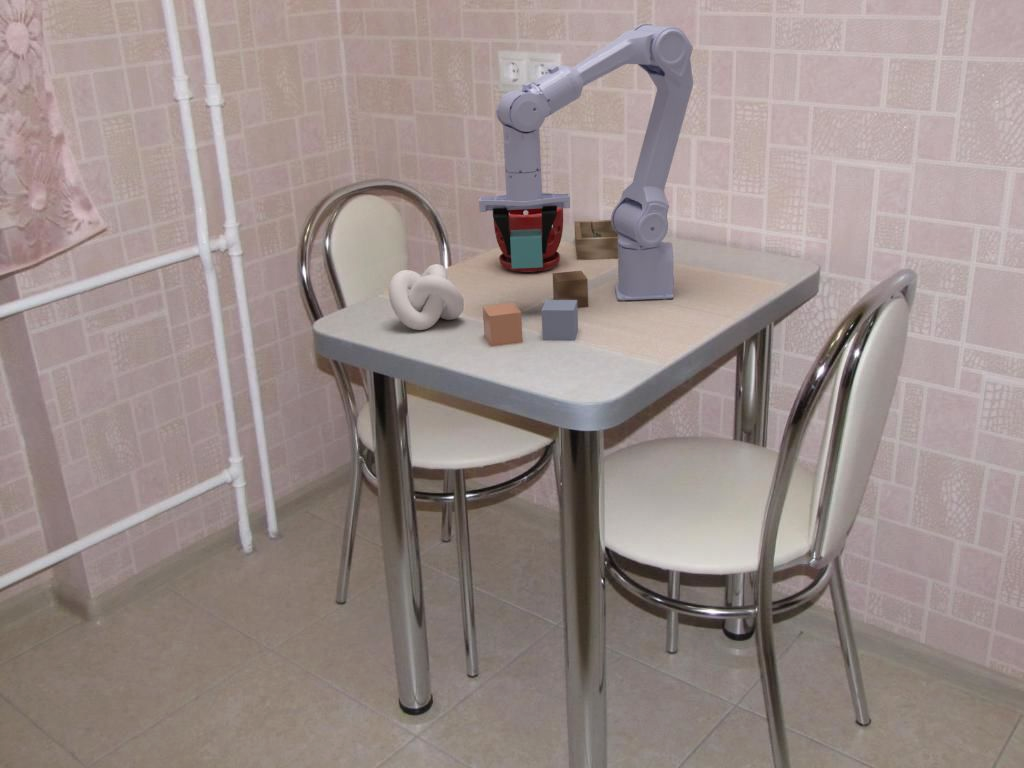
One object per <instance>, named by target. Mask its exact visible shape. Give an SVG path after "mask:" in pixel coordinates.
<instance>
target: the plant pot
mask: <svg viewBox="0 0 1024 768" xmlns="http://www.w3.org/2000/svg"><path fill="white" fill-rule="evenodd" d="M524 211H527V214H524ZM492 218H493V217H492ZM493 226H494V234H495V238H496V242H497V245H498V248H499V249H500V251H501V254H500V255H499V258H498V261H499V262H500V264H501V265H502V266H503V267H504V268H505V269H508V270H511V271H514V272H517V273H519V272H520V273H537V272H543V271H546V270H549V269H551V268H553V267H555V266H556V265H557V264H558V263H559V261H560V259H561V254H560V252H559V251H558V249H559V247H560V245H561V241H562V237H563V231H564V230H563V229H564V208H563V207H562V208H557V216H556V218H555V221H554V223H553V225H552V228H551V231H550V234H549V238H548V242H547V249H546V254H542V258H543V267H538V268H514V269H512V263H511V255H507V250H506V246H505V242H504V239H503V237H502V234H501V232H500V230H499V228H498V226H497V224H496V222H495V221H494V218H493ZM509 227H510V235H511V230H530V229H541V233H542V208H539V209H517V210H509Z"/></svg>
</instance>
